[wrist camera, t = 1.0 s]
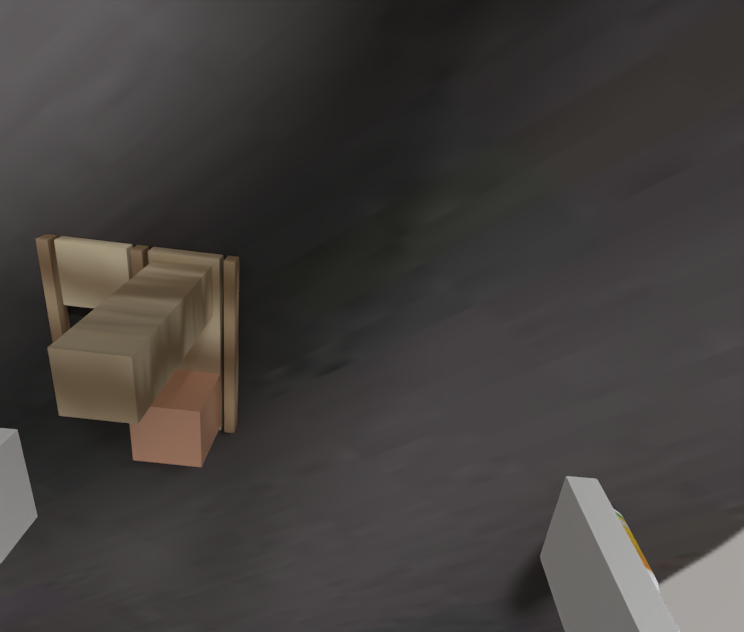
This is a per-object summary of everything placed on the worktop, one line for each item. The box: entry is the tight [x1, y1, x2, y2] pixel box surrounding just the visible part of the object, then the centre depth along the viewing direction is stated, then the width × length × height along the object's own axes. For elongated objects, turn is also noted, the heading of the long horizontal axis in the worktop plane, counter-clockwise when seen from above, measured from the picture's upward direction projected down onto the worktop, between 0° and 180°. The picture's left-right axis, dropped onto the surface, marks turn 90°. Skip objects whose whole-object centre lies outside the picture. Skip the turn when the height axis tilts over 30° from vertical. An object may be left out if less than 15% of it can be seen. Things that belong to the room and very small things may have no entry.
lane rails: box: [35, 234, 239, 433], centre depth 40 cm, size 15×14×1 cm
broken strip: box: [54, 236, 133, 308], centre depth 40 cm, size 15×5×1 cm, turn 173°
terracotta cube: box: [129, 369, 221, 467], centre depth 39 cm, size 5×5×5 cm
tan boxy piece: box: [47, 247, 224, 430], centre depth 34 cm, size 15×5×14 cm, turn 173°
